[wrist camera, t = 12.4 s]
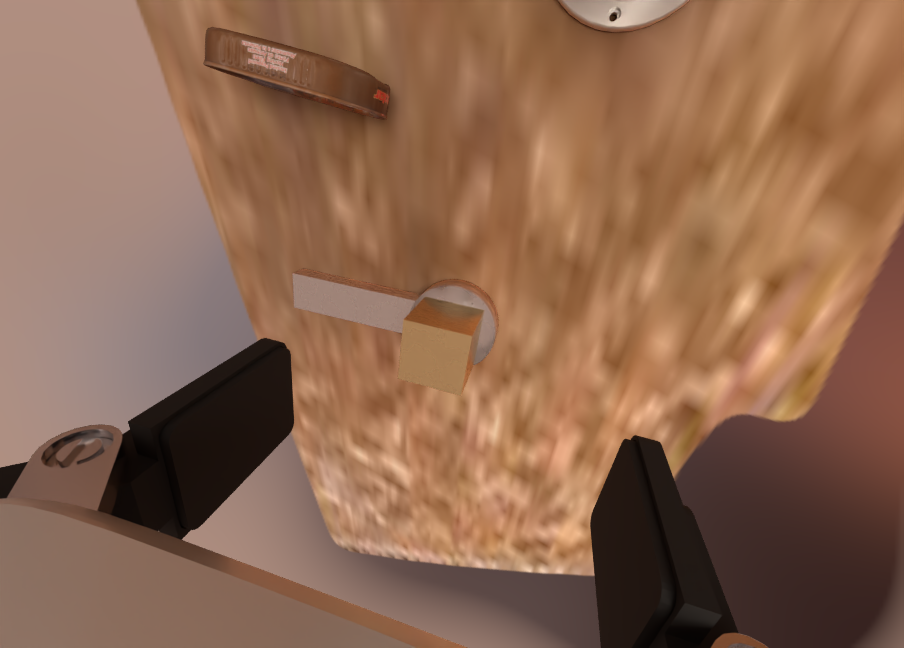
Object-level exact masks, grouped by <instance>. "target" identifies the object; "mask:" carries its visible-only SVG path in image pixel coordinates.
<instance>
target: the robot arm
mask: <svg viewBox="0 0 904 648" xmlns="http://www.w3.org/2000/svg"><path fill="white" fill-rule="evenodd" d="M558 1H559V3H560V4H561V5H562V6H563V7H564V8H565V10H566V11H567V12H568V13H569V14H570V15H571V16H573V17H574V18H575V19H577V20H578V21H579V22H581V23H582V24H585V25H587V26H589V27H592V28H594V29H597V30H602V31H609V32H624V31H633V30H637V29H640V28H644V27H647V26H650V25H652V24H654V23H656V22H658V21H661V20H663V19H665V18H667V17H668V16H670V15H671V14H673V13H674V12H676V11H677V10H678V9H680V8H681V7H683V6H684V5H685V4H687V3H688V2H689V1H690V0H558ZM612 14H614V15H616V17H617V19H616V20H615V21H613V22H612V21H610V19H609V17H610V16H611V15H612ZM128 423H129V427H130V430H129V431H127V432H126V433H124V434H122V432H121V431H120V430H119V429H118V428H116V427H114V426H111V425H89V426H84V427H80V428H76V429H73V430H70V431H67V432H64V433H62V434H60V435H58V436H56V437H54V438H52V439H50V440H48V441H47V442H46V443H44V444H43V445H42V446H40V447H39V448H38V449H37V450H36V451H35V453H34V454H33V455H32V456H31V458H30V460H29V461H28V462H25V463H20V464H15V465H10V466H6V467H1V468H0V648H467V647H464V646H462V645H459V644H456V643H454V642H451V641H449V640H446V639H443V638H441V637H438V636H436V635H433V634H430V633H428V632H425V631H423V630H420V629H417V628H415V627H412V626H409V625H407V624H404V623H402V622H399V621H396V620H394V619H391V618H389V617H386V616H383V615H380V614H378V613H375V612H372V611H370V610H367V609H365V608H362V607H360V606H357V605H354V604H351V603H349V602H346V601H344V600H341V599H338V598H335V597H333V596H330V595H328V594H325V593H322V592H320V591H317V590H314V589H312V588H309V587H306V586H304V585H301V584H298V583H296V582H293V581H290V580H288V579H285V578H283V577H280V576H277V575H274V574H272V573H269V572H267V571H264V570H261V569H259V568H256V567H253V566H250V565H248V564H245V563H242V562H240V561H236V560H234V559H232V558H229V557H226V556H223V555H221V554H218V553H215V552H213V551H210V550H207V549H205V548H202V547H199V546H196V545H193V544H191V543H188V542H185V541H183V540H182V539H183V537H185V536H186V535H187V534H188V532H189V531H190V530H195V529H197V528H198V527H200V526H201V525H202V524H203V523H204V522H205V521H206V520H207V519H208V518H209V517H210V516H211V515H212V514H213V513H214V511H215V510H217V508H218V507H219V506H220V505H221V504H222V503H223V502H224V501H225V500H226V499H227V498H228V497H229V496H230V495H231V494H232V493H233V492H234V491H235V490H236V489H237V488H238V487H239V486H240V484H242V483H243V481H244V480H245V479H246V478H247V477H248V476H249V475H250V474H251V473H252V472H253V471H254V470H255V469H256V468H257V467H258V466H259V465H260V464H261V463H262V462H263V461H264V460H265V459H266V458H267V457H268V456H269V455H270V454H271V452H272V451H273V450H274V449H275V448H276V447H277V446H278V445H279V444H280V443H281V442H282V441H283V440H284V439H285V438H286V437H287V436H288V435H289V433H290V432H291V430H292V428H293V425H294V411H293V392H292V372H291V354H290V351H289V350H288V349H287V347H286V345H285V344H284V343H283V342H279V341H275V340H271V339H267V338H263V339H260V340H259V341H257V342H256V343H254V344H252V345H251V346H249V347H248V348H246V349H244V350H243V351H241V352H239V353H238V354H236V355H235V356H233V357H231V358H230V359H228V360H227V361H225V362H223V363H222V364H220V365H218V366H217V367H215V368H214V369H212V370H210V371H209V372H207V373H206V374H204V375H202V376H201V377H199V378H197V379H196V380H194V381H193V382H191V383H189V384H188V385H186V386H185V387H183V388H181V389H180V390H178V391H177V392H175V393H173V394H172V395H170V396H168V397H167V398H165V399H164V400H162V401H160V402H159V403H157V404H155V405H154V406H152V407H151V408H149V409H147V410H146V411H144V412H143V413H141V414H139V415H138V416H136V417H135V418H133V419H131V420H130V421H128ZM590 526H591V539H592V550H593V562H594V573H595V584H596V596H597V607H598V619H599V630H600V642H601V648H768V647H767V646H765V645H764V644H762V643H761V642H759V641H757V640H755V639H753V638H751V637H749V636H746V635H742V634H739V633H738V630H737V628H736V625H735V622H734V620H733V617H732V615H731V612H730V609H729V606H728V604H727V601H726V599H725V596H724V593H723V591H722V588H721V585H720V583H719V580H718V577H717V575H716V572H715V569H714V567H713V564H712V562H711V559H710V556H709V554H708V551H707V548H706V546H705V543H704V540H703V538H702V535H701V532H700V530H699V527H698V525H697V522H696V519H695V517H694V515H693V513H692V511H691V510H690V509H689V508H688V507H687V506H684V505H683V504H682V501H681V498H680V495H679V492H678V490H677V487H676V484H675V481H674V478H673V476H672V473H671V470H670V467H669V464H668V462H667V459H666V456H665V453H664V450H663V448H662V445H661V443H660V442H658V441H655V440H651V439H647V438H644V437H640V436H636V435H635V436H633V437H632V438H631V440H628V439H624V440H623V442H622V444H621V446H620V448H619V451H618V453H617V455H616V458H615V460H614V463H613V465H612V467H611V470H610V472H609V474H608V477H607V479H606V481H605V484H604V486H603V488H602V491H601V493H600V495H599V498H598V500H597V502H596V505H595V507H594V509H593V512H592V516H591V523H590ZM158 531H159V532H158Z"/></svg>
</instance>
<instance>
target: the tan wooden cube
mask: <svg viewBox="0 0 904 648" xmlns="http://www.w3.org/2000/svg"><path fill="white" fill-rule="evenodd" d="M483 315H484V310H482V309H477V308H473V307H469V306H464V305H460V304H456V303H451V302H447V301H443V300H438V299H434V298H430V297H424V298H423V299H422V300H421V301H420V302H419V304H418V305H417V306H416V307H415V308H414V309H413V310H412V311H411V312H410V313H409V314H408V315H407V316H406V317H405V318H404V319H403V329H402V339H401V350H400V360H399V370H398V379H401V380H405V381H408V382H412V383H416V384H420V385H423V386H427V387H431V388H434V389H438V390H442V391H445V392H449V393H453V394H457V395H460V396H461V395H462V392H463V390H464V387H465V385H466V382H467V380H468V377H469V375H470V372H471V370H472V367H473V365H474V361H475V356H476V351H477V346H478V341H479V336H480V331H481V326H482V321H483Z"/></svg>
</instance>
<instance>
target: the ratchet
mask: <svg viewBox="0 0 904 648" xmlns="http://www.w3.org/2000/svg"><path fill="white" fill-rule="evenodd" d="M293 293H294V307H295V308H299V309H303V310H307V311H311V312H316V313H320V314H324V315H328V316H332V317H336V318H340V319H345V320H349V321H353V322H357V323H361V324H365V325H369V326H374V327H378V328H382V329H386V330H390V331H394V332H398V333H402V329H403V319H404V318H405V317H406V316H407V315H408V314H409V313H410V312H411V311H412V310H413V309H414V308H415V307H416V306H417V305H418V304H419V302H420V301H421V300H422V299H423V298H424V297H430V298H434V299H438V300H443V301H447V302H451V303H456V304H460V305H464V306H469V307H473V308H477V309H482V310H484V315H483V321H482V326H481V331H480V336H479V341H478V346H477V351H476V356H475V361H474V365H476V364H477V363H479V362H480V361H482V360H483V359H484V358H485V357H486V356H487V355H488V353H489V352H490V350H491V348H492V346H493V344H494V341H495V338H496V335H497V331H498V326H499V319H498V313H497V310H496V307H495V305H494V303H493V301H492V300H491V298H490V297H489V296H488V295H487V294H486V293H485V292H484V291H483V290H482V289H481V288H479V287H478V286H476V285H474V284H472V283H470V282H467V281H464V280H458V279H449V280H443V281H440V282H437V283H435V284H433V285H432V286H430V287H429V288H428V289H427V290H426V291H425V292H424V293H423V294H422V295H421V294H417V293H412V292H408V291H403V290H399V289H394V288H390V287H385V286H381V285H376V284H372V283H367V282H363V281H358V280H354V279H349V278H345V277H340V276H336V275H331V274H327V273H322V272H318V271H313V270H309V269H304V268H303V269H301V270H299V271H296V272H294V273H293Z"/></svg>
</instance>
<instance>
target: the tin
mask: <svg viewBox="0 0 904 648" xmlns="http://www.w3.org/2000/svg"><path fill="white" fill-rule="evenodd" d="M203 64H204V65H205V66H208V67H210V68H213V69H216V70H218V71H221V72H224V73H227V74H230V75H233V76H236V77H240V78H242V79H246V80H248V81H251V82H254V83H257V84H260V85H263V86H266V87H269V88H272V89H276V90H279V91H283V92H286V93H290V94H293V95H296V96H300V97H303V98H307V99H310V100H314V101H317V102H321V103H324V104H328V105H331V106H335V107H338V108H341V109H345V110H348V111H352V112H355V113H359V114H362V115H366V116H370V117H374V118H378V119H384V120H386V119H387V116H386V113H387V108H388V102H389V96H390V87H389V86H388V85H387V84H383V83H381V82H380V81H378V80H377V79H376V78H375V77H373V76H372V75H370V74H369V73H367V72H365V71H363V70H361V69H358V68H356V67H353V66H351V65H348V64H346V63H343V62H340V61H337V60H334V59H331V58H328V57H325V56H322V55H318V54H315V53H312V52H308V51H305V50H301V49H297V48H294V47H290V46H287V45H283V44H280V43H276V42H272V41H268V40H265V39H261V38H257V37H253V36H249V35H246V34H241V33H237V32H233V31H229V30H225V29H221V28H214V27H211V28H208V29H207V30H206V37H205V61H204V63H203Z"/></svg>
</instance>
